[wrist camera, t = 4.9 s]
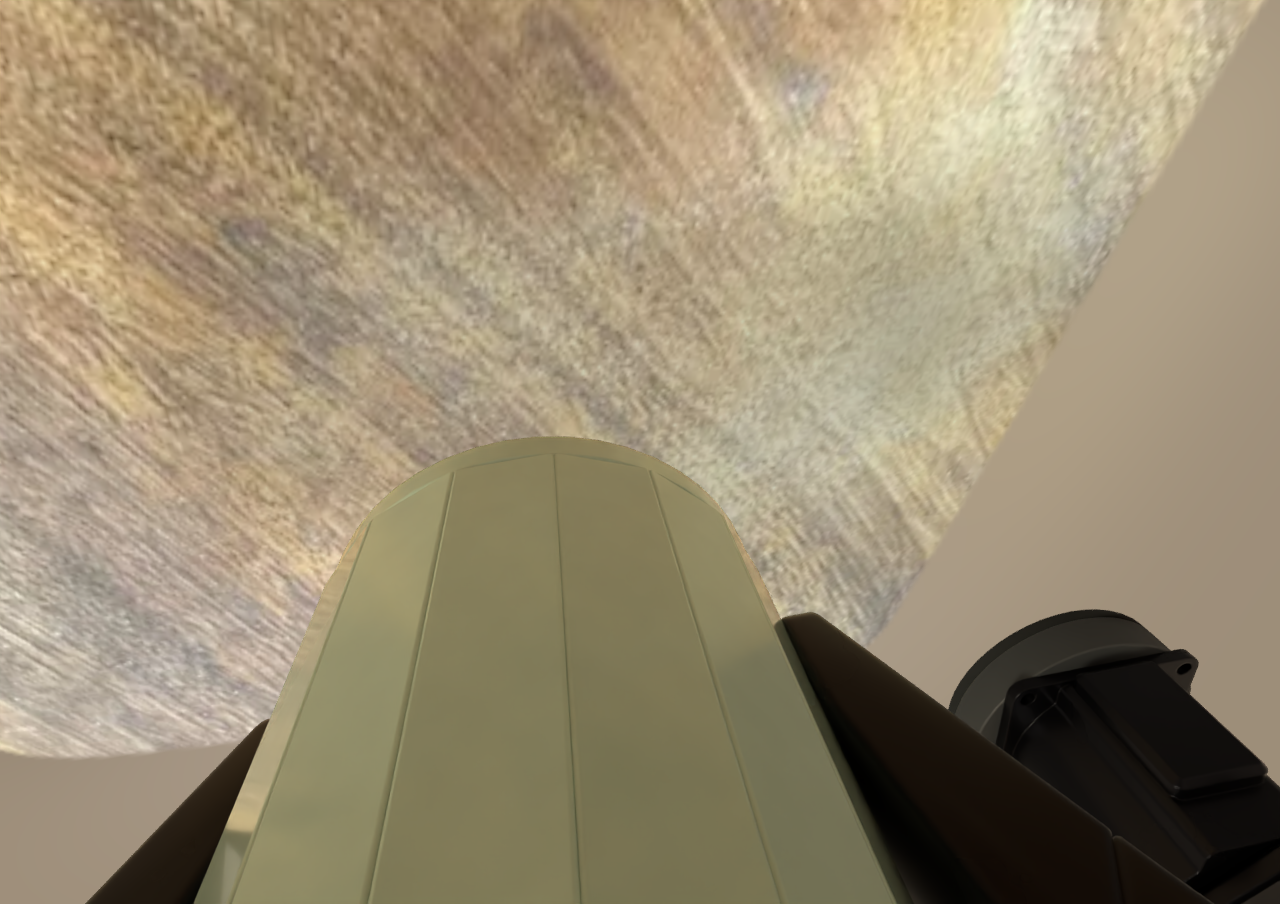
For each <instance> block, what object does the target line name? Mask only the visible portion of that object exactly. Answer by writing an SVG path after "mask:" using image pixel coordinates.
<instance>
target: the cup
mask: <svg viewBox="0 0 1280 904" xmlns="http://www.w3.org/2000/svg"><path fill="white" fill-rule="evenodd" d="M194 904H914V902H913V900H912V898H911V896H910V894H909V892H908V889H907V887H906V885H905V883H904V881H903V879H902V877H901V875H900V872H899V870H898V868H897V866H896V864H895V862H894V860H893V857H892V855H891V853H890V851H889V849H888V847H887V845H886V842H885V840H884V838H883V836H882V834H881V832H880V830H879V827H878V825H877V823H876V821H875V819H874V817H873V815H872V813H871V810H870V808H869V806H868V804H867V802H866V800H865V798H864V795H863V793H862V791H861V789H860V787H859V785H858V783H857V780H856V778H855V776H854V774H853V772H852V770H851V768H850V766H849V763H848V761H847V759H846V757H845V755H844V753H843V751H842V748H841V746H840V744H839V742H838V740H837V738H836V736H835V733H834V731H833V729H832V727H831V725H830V723H829V721H828V718H827V716H826V714H825V712H824V710H823V708H822V706H821V704H820V701H819V699H818V697H817V695H816V693H815V691H814V689H813V687H812V684H811V682H810V680H809V678H808V676H807V674H806V672H805V669H804V667H803V665H802V663H801V661H800V659H799V657H798V654H797V652H796V650H795V648H794V646H793V644H792V642H791V639H790V637H789V635H788V633H787V631H786V629H785V627H784V624H783V622H782V620H781V618H780V616H779V614H778V612H777V609H776V607H775V605H774V603H773V601H772V599H771V597H770V595H769V592H768V590H767V588H766V586H765V584H764V582H763V580H762V577H761V575H760V573H759V571H758V569H757V568H756V566H755V565H754V563H753V561H752V560H751V558H750V557H749V555H748V554H747V552H746V550H745V548H744V546H743V544H742V541H741V539H740V538H739V536H738V534H737V532H736V530H735V528H734V526H733V524H732V522H731V521H730V519H729V518H728V517H727V515H726V514H725V513H724V511H723V510H722V508H721V507H720V506H719V504H718V503H717V502H716V501H715V500H714V499H713V498H712V497H711V496H710V495H709V494H708V493H707V492H706V491H705V490H704V489H703V488H702V487H701V486H700V485H698V484H697V483H695V482H694V481H693V480H691V479H690V478H689V477H687V476H686V475H684V474H683V473H682V472H680V471H679V470H677V469H675V468H673V467H671V466H670V465H668V464H666V463H664V462H662V461H660V460H658V459H657V458H655V457H652V456H649V455H647V454H644V453H641V452H639V451H636V450H633V449H631V448H628V447H625V446H620V445H616V444H612V443H608V442H604V441H600V440H592V439H584V438H575V437H530V438H521V439H513V440H505V441H501V442H496V443H492V444H488V445H484V446H480V447H475V448H473V449H470V450H467V451H464V452H462V453H459V454H456V455H454V456H451V457H448V458H446V459H444V460H442V461H440V462H438V463H436V464H434V465H432V466H430V467H428V468H426V469H424V470H422V471H420V472H418V473H417V474H415V475H414V476H412V477H411V478H410V479H408V480H407V481H405V482H404V483H402V484H401V485H399V486H398V487H397V488H395V489H394V490H393V491H392V492H390V493H389V494H388V495H387V496H386V497H385V498H384V499H383V500H382V501H381V502H380V503H378V504H377V505H376V506H375V507H374V508H373V509H372V510H371V512H370V513H369V514H368V515H367V517H366V518H365V519H364V520H363V522H362V523H361V524H360V525H359V527H358V528H357V529H356V531H355V533H354V534H353V536H352V538H351V539H350V541H349V543H348V545H347V546H346V548H345V550H344V552H343V554H342V557H341V559H340V562H339V564H338V567H337V569H336V570H335V572H334V573H333V575H332V576H331V578H330V579H329V580H328V582H327V583H326V585H325V587H324V589H323V592H322V594H321V597H320V599H319V602H318V604H317V606H316V609H315V611H314V614H313V616H312V618H311V621H310V623H309V626H308V628H307V631H306V633H305V635H304V638H303V640H302V643H301V645H300V647H299V650H298V652H297V655H296V657H295V660H294V662H293V664H292V667H291V669H290V672H289V674H288V676H287V679H286V681H285V684H284V686H283V689H282V691H281V693H280V696H279V698H278V701H277V703H276V705H275V708H274V710H273V713H272V715H271V718H270V720H269V722H268V725H267V727H266V730H265V732H264V734H263V737H262V739H261V742H260V744H259V747H258V749H257V751H256V754H255V756H254V759H253V761H252V763H251V766H250V768H249V771H248V773H247V776H246V778H245V780H244V783H243V785H242V788H241V790H240V792H239V795H238V797H237V800H236V802H235V805H234V807H233V809H232V812H231V814H230V817H229V819H228V821H227V824H226V826H225V829H224V831H223V834H222V836H221V838H220V841H219V843H218V846H217V848H216V850H215V853H214V855H213V858H212V860H211V863H210V865H209V867H208V870H207V872H206V875H205V877H204V879H203V882H202V884H201V887H200V889H199V892H198V894H197V896H196V899H195V901H194Z"/></svg>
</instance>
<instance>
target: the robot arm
mask: <svg viewBox="0 0 1280 904" xmlns="http://www.w3.org/2000/svg"><path fill="white" fill-rule="evenodd" d="M781 620H782V622H783V624H784V627H785V629H786V631H787V633H788V635H789V637H790V639H791V642H792V644H793V646H794V648H795V650H796V652H797V654H798V657H799V659H800V661H801V663H802V665H803V667H804V669H805V672H806V674H807V676H808V678H809V680H810V682H811V684H812V687H813V689H814V691H815V693H816V695H817V697H818V699H819V701H820V704H821V706H822V708H823V710H824V712H825V714H826V716H827V718H828V721H829V723H830V725H831V727H832V729H833V731H834V733H835V736H836V738H837V740H838V742H839V744H840V746H841V748H842V751H843V753H844V755H845V757H846V759H847V761H848V763H849V766H850V768H851V770H852V772H853V774H854V776H855V778H856V780H857V783H858V785H859V787H860V789H861V791H862V793H863V795H864V798H865V800H866V802H867V804H868V806H869V808H870V810H871V813H872V815H873V817H874V819H875V821H876V823H877V825H878V827H879V830H880V832H881V834H882V836H883V838H884V840H885V842H886V845H887V847H888V849H889V851H890V853H891V855H892V857H893V860H894V862H895V864H896V866H897V868H898V870H899V872H900V875H901V877H902V879H903V881H904V883H905V885H906V887H907V889H908V892H909V894H910V896H911V898H912V900H913V902H914V904H1280V787H1279V786H1278V785H1277V784H1276V783H1275V782H1274V781H1273V780H1272V779H1271V778H1270V777H1269V776H1268V775H1267V773H1268V768H1267V766H1266V765H1265V764H1264V763H1263V762H1262V761H1261V760H1260V759H1259V758H1258V757H1257V756H1256V755H1254V753H1253V752H1251V751H1250V750H1249V749H1248V748H1247V747H1246V746H1245V745H1244V744H1243V743H1242V742H1240V740H1238V739H1237V738H1236V737H1235V736H1234V735H1233V734H1232V733H1231V732H1230V731H1229V730H1228V729H1227V728H1225V727H1224V726H1223V725H1222V724H1221V723H1220V722H1219V721H1218V720H1217V719H1216V718H1215V717H1214V716H1213V715H1211V714H1210V713H1209V712H1208V711H1207V710H1206V709H1205V708H1204V707H1203V706H1202V705H1201V704H1200V703H1199V702H1197V701H1196V700H1195V699H1194V698H1193V697H1192V696H1191V695H1190V694H1189V693H1188V690H1189V688H1190V685H1191V683H1192V680H1193V678H1194V675H1195V672H1196V670H1197V668H1198V660H1197V659H1195V657H1194V656H1192V655H1191V654H1190V653H1189V652H1188V651H1186V650H1184V649H1179V650H1173V651H1168V652H1162V653H1157V654H1152V655H1147V656H1142V657H1137V658H1131V659H1126V660H1121V661H1116V662H1111V663H1105V664H1100V665H1095V666H1090V667H1085V668H1080V669H1074V670H1069V671H1064V672H1059V673H1054V674H1048V675H1043V676H1038V677H1033V678H1028V679H1023V680H1020V681H1017V682H1015V683H1014V684H1012V685H1011V686H1010V687H1009V688H1008V691H1007V693H1006V697H1005V702H1004V707H1003V711H1002V716H1001V721H1000V725H999V730H998V735H997V739H996V744H994V743H993V742H991V741H990V740H988V739H987V738H986V737H984V736H983V735H982V734H980V733H979V732H978V731H976V730H975V729H973V728H972V727H971V726H969V725H968V724H967V723H965V722H964V721H963V720H961V719H960V718H959V717H957V716H956V715H954V714H953V713H952V712H950V711H949V710H948V709H946V708H945V707H944V706H942V705H941V704H939V703H938V702H937V701H935V700H934V699H933V698H931V697H930V696H929V695H927V694H926V693H925V692H923V691H922V690H920V689H919V688H918V687H916V686H915V685H914V684H912V683H911V682H910V681H908V680H907V679H906V678H904V677H903V676H901V675H900V674H899V673H897V672H896V671H895V670H893V669H892V668H891V667H889V666H888V665H887V664H885V663H884V662H882V661H881V660H880V659H878V658H877V657H876V656H874V655H873V654H872V653H870V652H869V651H867V650H866V649H865V648H863V647H862V646H861V645H859V644H858V643H857V642H855V641H854V640H853V639H851V638H850V637H848V636H847V635H846V634H844V633H843V632H842V631H840V630H839V629H838V628H836V627H835V626H834V625H832V624H831V623H829V622H828V621H827V620H825V619H824V618H823V617H821V616H820V615H818V614H816V613H813V612H807V613H802V614H797V615H792V616H787V617H784V618H782V619H781ZM269 720H270V719H267V720H265V721H263V722H261V723H260V724H259V725H258V726H256V727H255V728H254V729H253V730H252V731H251V732H250V733H249V735H248V736H247V737H246V738H245V739H244V740H243V741H242V742H241V743H240V744H239V745H238V746H237V747H236V748H235V749H234V750H233V751H232V752H231V753H230V754H229V755H228V756H227V757H226V758H225V759H224V760H223V761H222V763H221V764H220V765H219V766H218V767H217V768H216V769H215V770H214V771H213V772H212V773H211V774H210V775H209V776H208V777H207V778H206V779H205V780H204V781H203V782H202V783H201V784H200V785H199V786H198V787H197V789H196V790H195V791H194V792H193V793H192V794H191V795H190V796H189V797H188V798H187V799H186V800H185V801H184V802H183V803H182V804H181V805H180V806H179V807H178V808H177V809H176V810H175V811H174V812H173V813H172V815H171V816H169V818H168V819H167V820H166V821H165V822H164V823H163V824H162V825H161V826H160V827H159V828H158V829H157V830H156V831H155V832H154V833H153V834H152V835H151V836H150V837H149V838H148V839H147V840H146V841H145V842H144V843H143V845H141V847H140V848H139V849H138V850H137V851H136V852H135V853H134V854H133V855H132V856H131V857H130V858H129V859H128V860H127V861H126V862H125V863H124V864H123V865H122V866H121V867H120V868H119V869H118V870H117V872H116V873H115V874H114V875H113V876H112V877H111V878H110V879H109V880H108V881H107V882H106V883H105V884H104V885H103V886H102V887H101V888H100V889H99V890H98V891H97V892H96V893H95V894H94V895H93V897H91V898H90V899H89V900H88V902H87V903H86V904H194V901H195V899H196V896H197V894H198V892H199V889H200V887H201V884H202V882H203V879H204V877H205V875H206V872H207V870H208V867H209V865H210V863H211V860H212V858H213V855H214V853H215V850H216V848H217V846H218V843H219V841H220V838H221V836H222V834H223V831H224V829H225V826H226V824H227V821H228V819H229V817H230V814H231V812H232V809H233V807H234V805H235V802H236V800H237V797H238V795H239V792H240V790H241V788H242V785H243V783H244V780H245V778H246V776H247V773H248V771H249V768H250V766H251V763H252V761H253V759H254V756H255V754H256V751H257V749H258V747H259V744H260V742H261V739H262V737H263V734H264V732H265V730H266V727H267V725H268V722H269Z"/></svg>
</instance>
